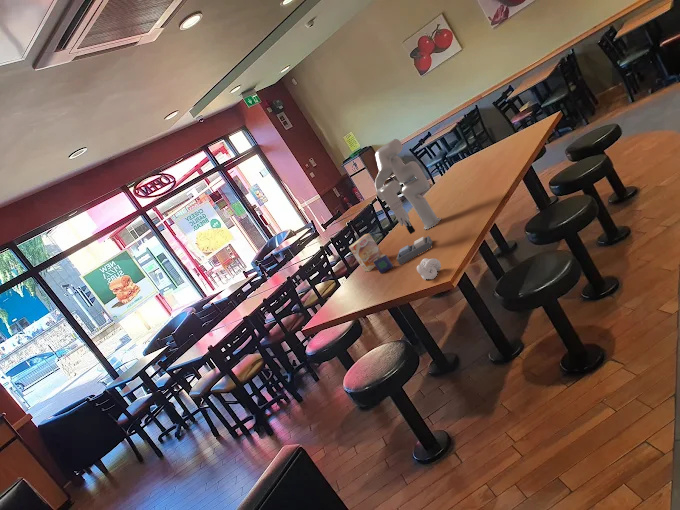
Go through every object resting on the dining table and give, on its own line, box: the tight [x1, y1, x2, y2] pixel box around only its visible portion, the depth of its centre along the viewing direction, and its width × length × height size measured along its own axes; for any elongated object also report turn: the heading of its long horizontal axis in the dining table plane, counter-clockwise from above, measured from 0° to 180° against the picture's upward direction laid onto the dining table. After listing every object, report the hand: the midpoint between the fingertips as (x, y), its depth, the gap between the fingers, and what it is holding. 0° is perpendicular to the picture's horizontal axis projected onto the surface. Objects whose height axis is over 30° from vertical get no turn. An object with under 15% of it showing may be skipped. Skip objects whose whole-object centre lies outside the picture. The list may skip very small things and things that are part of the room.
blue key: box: [398, 244, 411, 257], centre depth 302 cm, size 6×6×3 cm
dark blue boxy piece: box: [373, 254, 394, 275], centre depth 305 cm, size 9×3×11 cm, turn 74°
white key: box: [413, 236, 426, 248], centre depth 298 cm, size 6×6×3 cm
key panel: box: [396, 235, 433, 266], centre depth 300 cm, size 12×21×4 cm, turn 76°
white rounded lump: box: [416, 257, 442, 281], centre depth 250 cm, size 11×12×9 cm
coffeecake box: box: [348, 233, 384, 272], centre depth 330 cm, size 15×7×20 cm, turn 117°
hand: (412, 232), depth 296 cm, fingers closed
